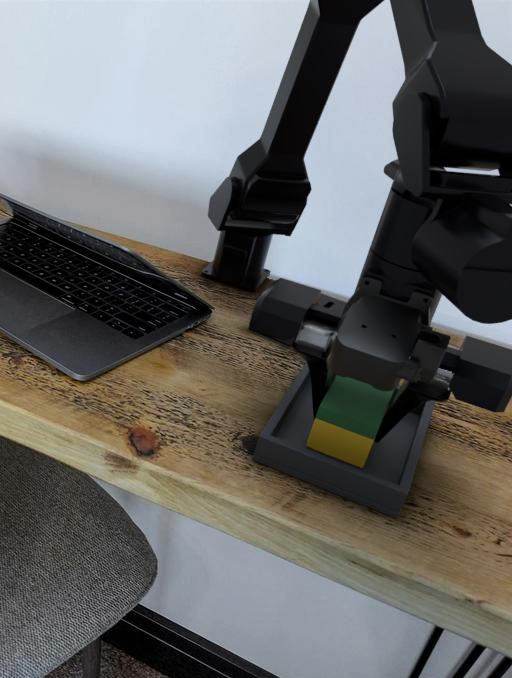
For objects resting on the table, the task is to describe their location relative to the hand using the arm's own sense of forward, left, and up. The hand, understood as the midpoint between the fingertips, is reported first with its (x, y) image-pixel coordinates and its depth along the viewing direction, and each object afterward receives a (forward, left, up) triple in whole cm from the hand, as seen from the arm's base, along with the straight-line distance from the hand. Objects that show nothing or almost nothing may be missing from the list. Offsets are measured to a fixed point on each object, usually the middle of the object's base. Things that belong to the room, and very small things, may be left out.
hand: (345, 428), depth 68 cm
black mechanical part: (-17, -6, -2) cm, 18 cm away
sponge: (0, 0, -1) cm, 1 cm away
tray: (-1, 0, -1) cm, 2 cm away
